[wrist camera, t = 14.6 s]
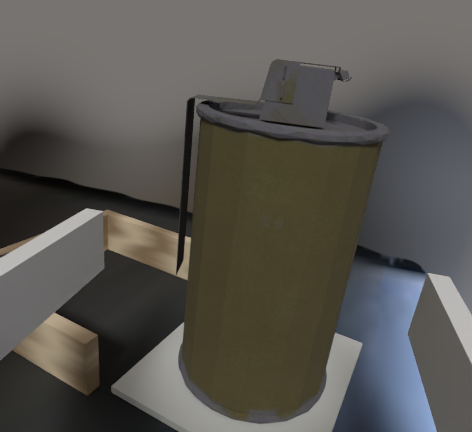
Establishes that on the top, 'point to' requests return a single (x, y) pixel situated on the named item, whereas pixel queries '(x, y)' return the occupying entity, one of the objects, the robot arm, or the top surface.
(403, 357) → the top surface
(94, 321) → the top surface
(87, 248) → the robot arm
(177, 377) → the mat
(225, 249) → the canister
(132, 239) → the tan low open frame
